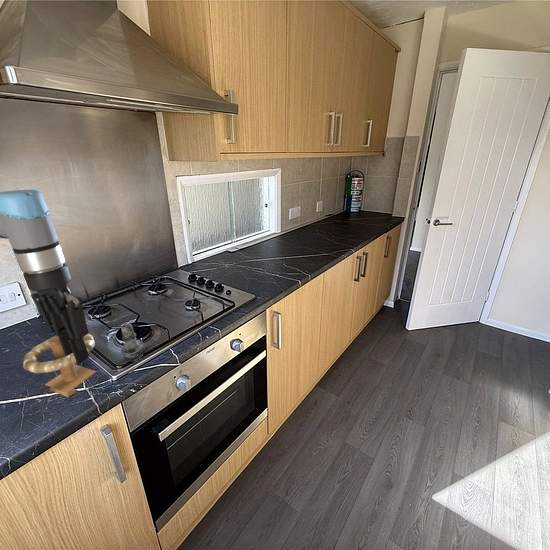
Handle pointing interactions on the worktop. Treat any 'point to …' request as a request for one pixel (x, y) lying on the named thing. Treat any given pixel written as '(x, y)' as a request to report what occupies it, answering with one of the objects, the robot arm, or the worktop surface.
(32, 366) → the ring
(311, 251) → the worktop surface
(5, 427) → the worktop surface
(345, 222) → the worktop surface
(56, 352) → the post stand
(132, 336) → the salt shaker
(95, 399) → the worktop surface
